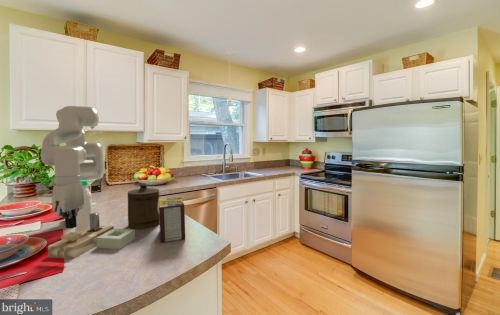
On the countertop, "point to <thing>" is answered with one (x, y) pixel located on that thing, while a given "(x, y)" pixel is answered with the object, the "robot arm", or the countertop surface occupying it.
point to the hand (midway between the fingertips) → (71, 227)
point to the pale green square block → (115, 238)
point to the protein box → (171, 219)
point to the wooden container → (143, 208)
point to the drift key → (71, 237)
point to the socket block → (77, 243)
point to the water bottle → (84, 209)
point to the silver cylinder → (94, 222)
